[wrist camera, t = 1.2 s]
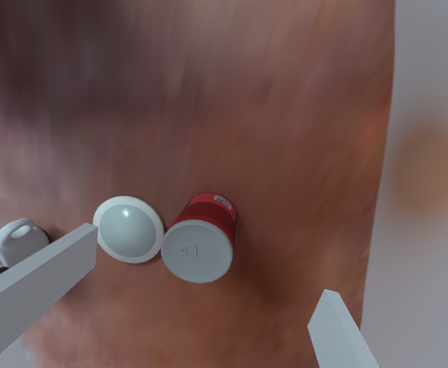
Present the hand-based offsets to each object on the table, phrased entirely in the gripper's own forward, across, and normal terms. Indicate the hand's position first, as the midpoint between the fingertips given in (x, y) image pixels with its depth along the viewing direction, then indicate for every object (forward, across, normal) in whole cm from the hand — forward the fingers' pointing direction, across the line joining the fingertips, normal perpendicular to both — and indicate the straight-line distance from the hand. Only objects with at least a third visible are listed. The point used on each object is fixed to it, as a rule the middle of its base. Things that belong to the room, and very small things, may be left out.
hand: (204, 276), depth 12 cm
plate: (+21, -14, -12) cm, 28 cm away
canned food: (+21, -2, -6) cm, 22 cm away
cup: (+21, -31, -18) cm, 41 cm away
